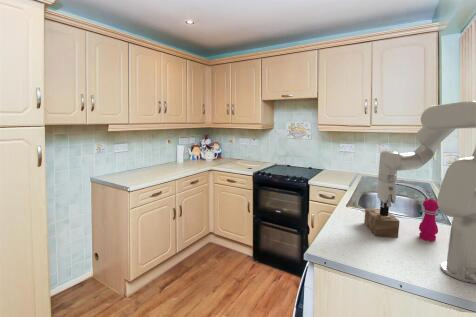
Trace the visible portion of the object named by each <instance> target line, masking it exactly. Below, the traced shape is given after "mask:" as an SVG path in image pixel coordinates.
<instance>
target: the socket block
mask: <svg viewBox="0 0 476 317" xmlns="http://www.w3.org/2000/svg"><path fill="white" fill-rule="evenodd" d="M378 214H380V208H365V209H364V219H363V220H364V222H363V224H364V225H365V226H366V228H368V230H370V232H371V233H372V235H373V236H374V237H378V238H379V237H381V238H399V230H400V220H399V219H398V218H397V217H396V216H394V215H393V214H392V213H391V212H390V211H388V216H390V219H380V218H379V217H378Z"/></svg>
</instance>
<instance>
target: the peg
mask: <svg viewBox="0 0 476 317" xmlns="http://www.w3.org/2000/svg"><path fill="white" fill-rule="evenodd" d="M378 217H379V218H380V219H390V216H381V215H380V214H378Z"/></svg>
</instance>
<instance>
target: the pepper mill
mask: <svg viewBox="0 0 476 317" xmlns="http://www.w3.org/2000/svg"><path fill="white" fill-rule="evenodd" d="M422 206H423V213H424V215H423V219H422V220H421V222H420V223H419V226H418V229H419V231H420V232H419V235H418V236H419V238H420V239H421V240H424V241H428V242H435V241H436V240H437V236H436V235H437V234H438V233H439V227H438V224H437V222H436V217H437V216H436V215H438V210H440V209H439V207H438V203H437V200H435V196H433V195H430V196H429V198H427V199H425V200H424V201H423V202H422Z"/></svg>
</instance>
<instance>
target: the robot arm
mask: <svg viewBox="0 0 476 317" xmlns="http://www.w3.org/2000/svg"><path fill="white" fill-rule="evenodd" d="M420 123H421V125H422V127H421V128H420V129H419V130H418V131H417V132H416V134H415V138H416V139H417V141H418V142H419V144H420V145H419V146H418V147H417V148H416V149H414V151H412V152H401V153H399V152H397V151H394V150H382V151H381V152H380V154H379V162H378V163H379V165H378V174H377V181H378V184H377V198H378V199H379V201H380V202H379V204H380V205H379V206H380V207H379V209H380V215H381V216H388V212H390V211H389V209H390V207H392V204H396V202H397V201H396V199H397V185H396V182H397V179H398V178H397V177H398V171H399V172H401V171H403V172H404V171H411V170H412V171H414V170H418V169H420V168H422V167H423V166H425V165H426V164H427V163H429V161H431V160H432V159H433V158H434V156H435V155H436V153H437V152H436V151H437V146H438V145H440V144H441V143H442V142H443V141H444V140H445V139H446V138H447V137H449V136H450V135H451V134H452V133H453V132H454V131H455V130H457V129H458V130H459V129H476V101H475V100H468V101H467V100H466V101H459V102H451V103H444V104H434V105H431V106H429V107H427V108H426V109H424V111H423V112H422V114H421V116H420ZM437 194H438V195H437V200H436V201H437V203H438V207H439V209H438V210H439V211H440V212H441V213H442V214H443V215H445V216H447V217H451V218H452V220H451V225H450V226H451V227H450V232H449V240H448V250H447V258H446V261H442V262H441V263H440V270H442V272H444V274H446V275H448V276H450V277H452V278H454V279H456V280H458V281H462V282H466V283H469V282H470V283H471V284H476V146H475V147H474V150H473V152H472V154H471V156H470V157H463V158H458V159H456V160H455V161H453V162H452V163H450V164H449V166H448V168H447V169H446V171H445V174H444V177H443V180H442V183H441V185H440V189H439V192H438V193H437Z"/></svg>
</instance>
